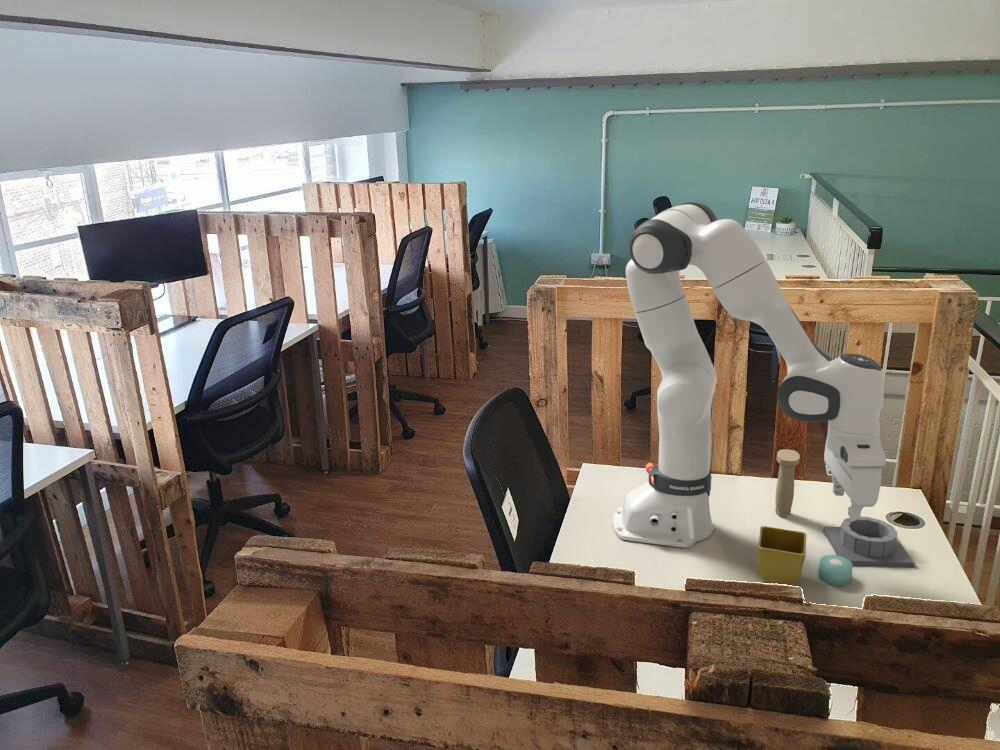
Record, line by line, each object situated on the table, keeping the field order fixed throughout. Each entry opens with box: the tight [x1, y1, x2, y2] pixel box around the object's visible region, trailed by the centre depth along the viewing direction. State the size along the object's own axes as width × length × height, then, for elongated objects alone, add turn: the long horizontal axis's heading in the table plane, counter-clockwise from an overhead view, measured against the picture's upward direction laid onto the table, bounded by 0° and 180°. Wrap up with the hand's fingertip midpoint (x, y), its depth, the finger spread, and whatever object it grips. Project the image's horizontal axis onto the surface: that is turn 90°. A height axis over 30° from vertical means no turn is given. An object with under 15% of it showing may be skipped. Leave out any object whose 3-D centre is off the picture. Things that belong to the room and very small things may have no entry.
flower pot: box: [757, 525, 807, 586], centre depth 153 cm, size 9×9×9 cm
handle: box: [774, 449, 801, 518], centre depth 177 cm, size 5×6×15 cm
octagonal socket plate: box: [822, 516, 916, 568], centre depth 163 cm, size 14×14×5 cm
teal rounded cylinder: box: [817, 554, 854, 588], centre depth 153 cm, size 6×6×4 cm
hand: (845, 505), depth 149 cm, fingers open, 8 cm apart
